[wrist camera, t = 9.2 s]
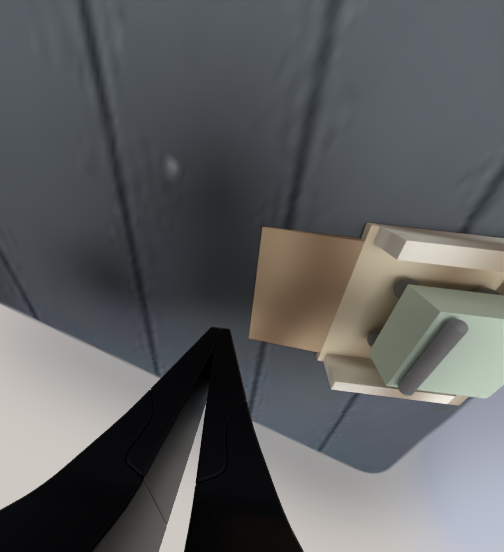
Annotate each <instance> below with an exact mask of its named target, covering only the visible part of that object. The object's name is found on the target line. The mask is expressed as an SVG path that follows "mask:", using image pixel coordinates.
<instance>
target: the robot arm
mask: <svg viewBox="0 0 504 552" xmlns="http://www.w3.org/2000/svg"><path fill="white" fill-rule="evenodd" d="M206 401H207V402H206ZM205 404H206V410H205V417H204V424H203V433H202V440H201V448H200V455H199V462H198V469H197V478H196V486H195V492H194V499H193V505H192V512H191V518H190V523H189V529H188V534H187V539H186V544H185V550H184V552H303V549H302V547H301V546H300V544H299V542H298V540H297V538H296V536H295V534H294V532H293V531H292V528H291V527H290V524H289V522H288V520H287V517H286V515H285V513H284V510H283V508H282V505H281V503H280V500H279V498H278V495H277V493H276V490H275V487H274V485H273V482H272V479H271V476H270V474H269V470H268V468H267V465H266V462H265V459H264V457H263V454H262V452H261V448H260V446H259V443H258V439H257V437H256V433H255V430H254V427H253V423H252V419H251V416H250V412H249V408H248V403H247V401H246V395H245V391H244V387H243V382H242V378H241V374H240V370H239V365H238V361H237V357H236V352H235V348H234V344H233V340H232V335H231V331H230V329H225V328H221V329H220V328H217V327H211V328H210V329H209V330H208V331H207V332H206V333H205V334H204V335H203V336H202V337H201V338H200V339H199V340H198V341H197V342H196V343H195V344H194V345H193V346H192V347H191V348H190V349H189V350H188V351H187V352H186V353H185V354H184V355H183V356H182V357H181V358H180V359H179V360H178V362H177V363H176V364H175V365H174V366H173V367H172V368H171V369H170V370H169V371H168V372H167V373H166V374H165V375H164V376H163V377H162V378H161V379H160V380H159V381H158V382H157V383H156V384H155V385H154V386H153V387H152V388H151V390H149V391H148V392H147V393H146V394H145V395H144V396H143V397H142V398H141V399H140V400H139V401H138V402H137V403H136V404H135V405H134V406H133V407H132V408H131V409H130V410H129V411H128V412H127V413H126V414H125V415H124V416H122V417H121V418H120V419H119V420H118V421H117V422H116V423H114V424H113V425H112V426H111V427H110V428H109V429H108V430H107V431H105V432H104V433H103V434H102V435H101V436H100V437H99V438H97V439H96V440H95V441H94V442H93V443H92V444H90V445H89V446H88V447H87V448H86V449H85V450H83V451H82V452H81V453H80V454H79V455H78V456H76V458H74V459H73V460H72V461H71V462H70V463H68V464H67V465H66V466H65V467H64V468H63V469H61V470H60V471H59V472H58V473H57V474H55V475H54V476H53V477H52V478H50V479H49V480H48V481H46V482H45V483H44V484H42V485H41V486H39V487H38V488H36V489H35V490H33V491H32V492H30V493H29V494H27V495H26V496H24V497H22V498H21V499H19V500H17V501H15V502H14V503H12V504H10V505H9V506H7V507H5V508H3V509H1V510H0V552H159V549H160V546H161V543H162V539H163V536H164V533H165V530H166V525H167V523H168V520H169V517H170V514H171V511H172V508H173V504H174V501H175V498H176V495H177V492H178V489H179V485H180V483H181V479H182V476H183V473H184V470H185V466H186V464H187V460H188V457H189V454H190V451H191V448H192V445H193V442H194V439H195V435H196V432H197V429H198V426H199V423H200V420H201V417H202V413H203V410H204V407H205Z"/></svg>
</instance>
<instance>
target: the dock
mask: <svg viewBox="0 0 504 552" xmlns="http://www.w3.org/2000/svg"><path fill="white" fill-rule="evenodd" d="M402 279H414V280H416V281H418V282H419V283H420V284H421V285H422V286H427V287H436V288H444V289H453V290H461V291H471V290H473V289H476V288H483V287H484V288H490V289H493V290H495V291H497V292H498V293H500V294H501V295H504V238H498V237H489V236H481V235H472V234H463V233H454V232H446V231H437V230H428V229H419V228H411V227H402V226H393V225H384V224H376V223H366V226H365V228H364V231H363V234H362V236H361V238H355V237H347V236H339V235H330V234H321V233H313V232H304V231H295V230H287V229H278V228H269V227H262V234H261V243H260V251H259V259H258V267H257V275H256V283H255V291H254V299H253V307H252V315H251V323H250V331H249V339H254V340H259V341H264V342H269V343H274V344H279V345H284V346H289V347H294V348H299V349H304V350H309V351H314V352H317V353H316V356H317V360H318V361H323V362H324V366H325V369H326V373H327V376H328V380H329V383H330V387H331V389H332V390H340V391H348V392H356V393H364V394H372V395H380V396H388V397H396V398H404V399H412V400H420V401H428V402H436V403H444V404H452V405H460V404H461V403H462V402H463V401H464V400H466V399H467V398H468V397H469V396H463V395H455V394H447V393H439V392H431V391H423V390H416V391H415V392H414V393H413V395H411V396H405V395H403V394H402V393H401V392H400V391H399V389H398V387H391V386H386V385H385V383H384V381H383V379H382V377H381V375H380V373H379V372H378V370H377V368H376V366H375V364H374V362H373V360H372V359H371V357H370V355H369V351H370V349H371V347H370V346H369V344H368V342H367V336H368V334H369V333H370V332H371V331H374V330H380V331H381V330H382V329H383V327H384V325H385V323H386V322H387V320H388V318H389V316H390V315H391V313H392V311H393V310H394V308H395V306H396V304H397V303H398V301H399V299H398V298H397V297H396V296H395V294H394V290H393V289H394V286H395V284H396V283H397V282H398V281H400V280H402Z"/></svg>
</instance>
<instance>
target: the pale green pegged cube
mask: <svg viewBox="0 0 504 552" xmlns="http://www.w3.org/2000/svg"><path fill="white" fill-rule="evenodd" d="M393 290H394V294H395V296H396V297H397V298H398V299H399V301H398V303H397V304H396V306H395V308H394V310H393V311H392V313H391V315H390V316H389V318H388V320H387V322H386V323H385V325H384V327H383V329H382V330H381V331H380V330H374V331H371V332H370V333H369V334H368V336H367V342H368V344H369V346H370V347H371V349H370V351H369V355H370V357H371V359H372V360H373V362H374V364H375V366H376V368H377V370H378V372H379V373H380V375H381V377H382V379H383V381H384V383H385V385H386V386H391V387H398V389H399V391H400V392H401V393H402V394H403V395H405V396H411V395H413V393H414V392H415V391H416V390H423V391H431V392H439V393H447V394H455V395H463V396H471V397H479V398H488V397H489V396H490V395H492V394H493V393H494V392H495V391H497V390H498V389H499V388H500V387H501V386H503V385H504V295H501V294H500V293H498V292H497V291H495V290H493V289H490V288H484V287H483V288H476V289H473V290H471V291H461V290H453V289H444V288H436V287H427V286H422V285H421V284H420V283H419V282H418V281H416V280H414V279H402V280H400V281H398V282H397V283H396V284H395V286H394V289H393Z"/></svg>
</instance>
